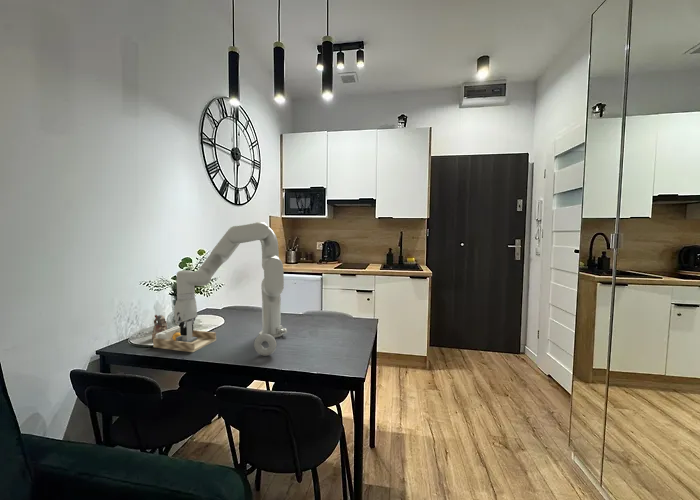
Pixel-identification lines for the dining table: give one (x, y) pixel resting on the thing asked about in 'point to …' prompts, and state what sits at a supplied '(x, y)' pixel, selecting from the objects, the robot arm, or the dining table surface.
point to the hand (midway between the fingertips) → (187, 333)
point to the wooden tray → (202, 340)
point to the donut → (261, 349)
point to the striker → (187, 333)
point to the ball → (176, 336)
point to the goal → (168, 333)
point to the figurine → (159, 325)
